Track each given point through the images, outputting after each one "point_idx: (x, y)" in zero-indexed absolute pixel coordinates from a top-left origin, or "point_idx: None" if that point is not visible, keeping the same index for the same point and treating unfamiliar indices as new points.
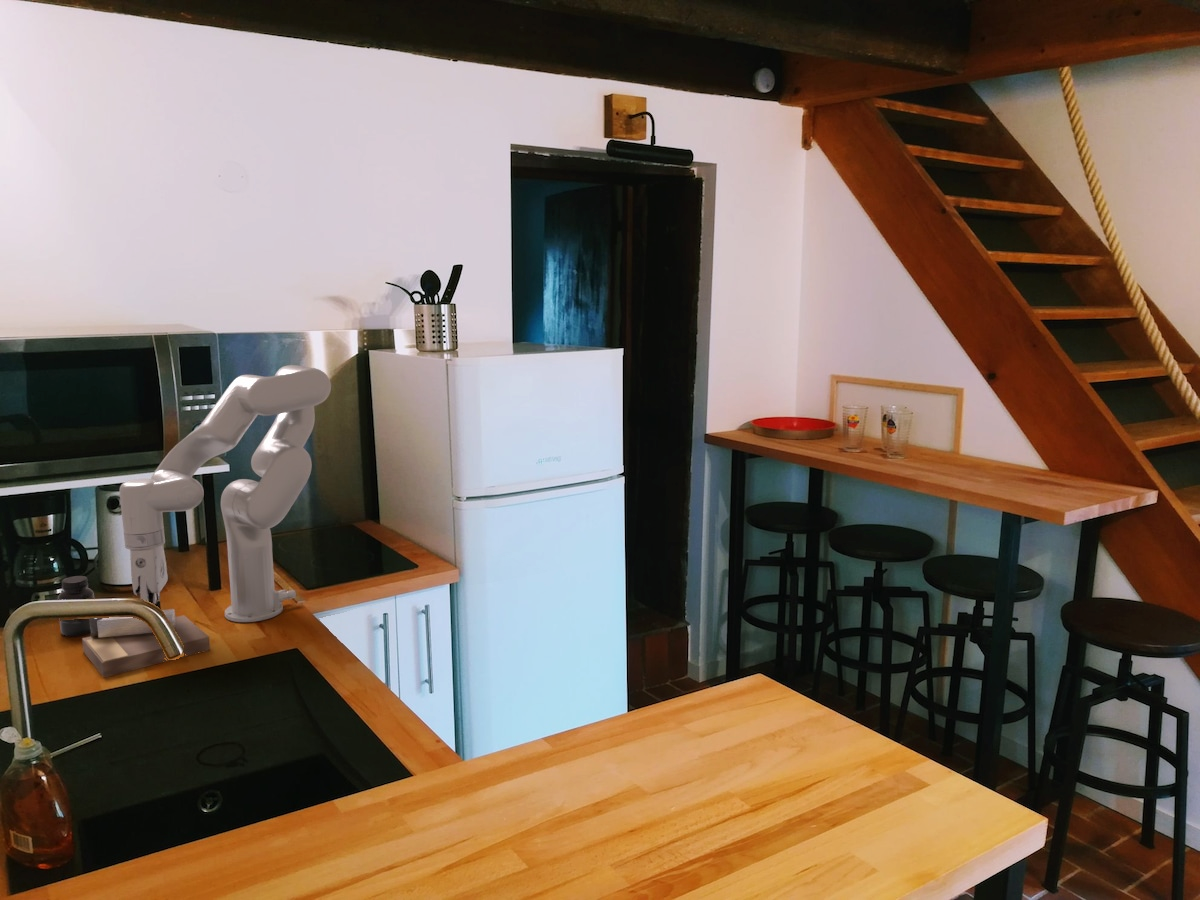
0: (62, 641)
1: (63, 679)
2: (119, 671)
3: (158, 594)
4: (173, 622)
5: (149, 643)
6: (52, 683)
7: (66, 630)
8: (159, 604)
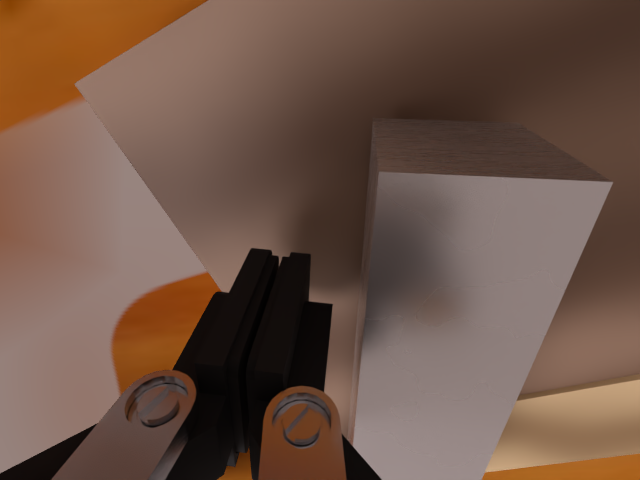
0: (242, 468)
1: (607, 457)
2: None
3: (135, 450)
4: (493, 138)
5: (626, 261)
6: (622, 475)
7: None
8: (235, 343)
